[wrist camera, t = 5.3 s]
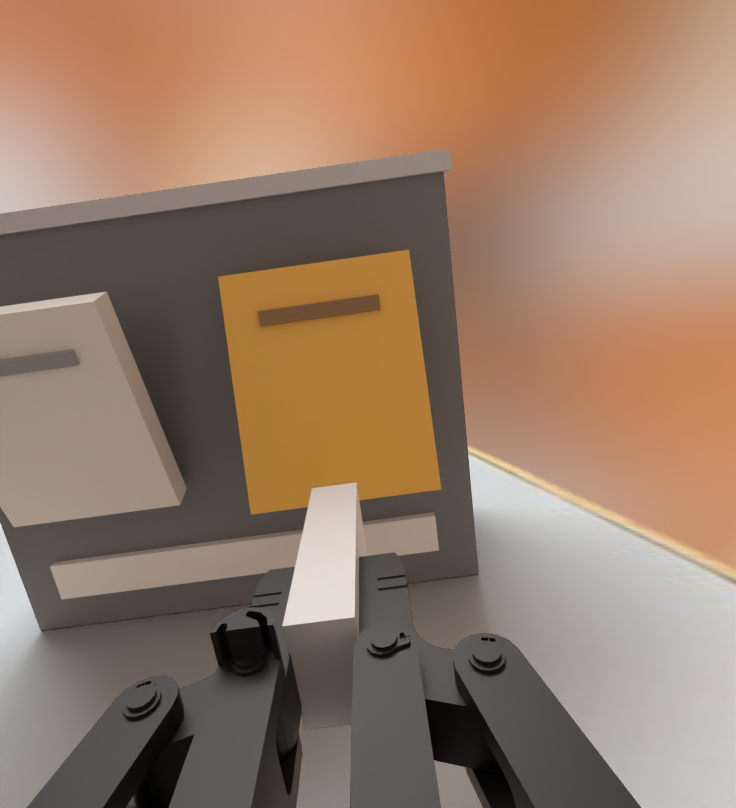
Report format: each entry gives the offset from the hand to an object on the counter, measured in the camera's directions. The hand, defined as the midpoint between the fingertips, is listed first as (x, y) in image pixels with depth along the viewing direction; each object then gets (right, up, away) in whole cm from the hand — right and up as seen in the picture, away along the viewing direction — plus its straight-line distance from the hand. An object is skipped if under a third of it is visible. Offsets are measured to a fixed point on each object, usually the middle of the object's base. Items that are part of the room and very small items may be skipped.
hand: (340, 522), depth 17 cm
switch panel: (-5, -6, +14) cm, 16 cm away
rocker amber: (0, 0, +4) cm, 4 cm away
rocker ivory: (-12, -1, +7) cm, 14 cm away
